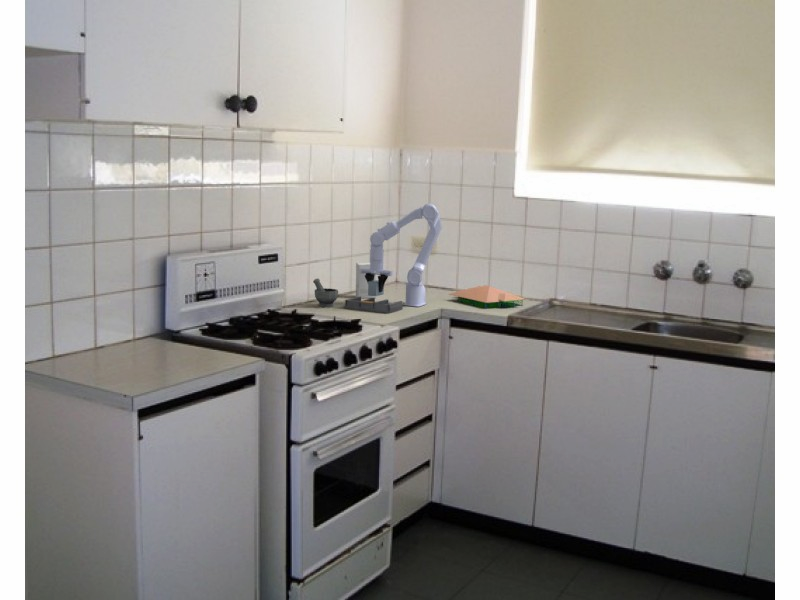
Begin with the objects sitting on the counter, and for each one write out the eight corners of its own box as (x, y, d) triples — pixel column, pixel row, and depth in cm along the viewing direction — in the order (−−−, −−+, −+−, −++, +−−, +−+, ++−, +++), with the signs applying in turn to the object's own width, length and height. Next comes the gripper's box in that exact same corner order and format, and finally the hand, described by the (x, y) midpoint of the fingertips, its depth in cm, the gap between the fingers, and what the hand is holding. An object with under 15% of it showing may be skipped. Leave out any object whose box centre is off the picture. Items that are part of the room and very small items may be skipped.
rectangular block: (375, 293, 368) (375, 279, 367) (383, 294, 366) (384, 280, 365) (367, 295, 362) (368, 281, 361) (376, 296, 360) (376, 282, 359)
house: (490, 311, 358) (491, 292, 357) (442, 299, 385) (443, 282, 383) (529, 307, 371) (530, 289, 370) (480, 296, 398) (481, 279, 396)
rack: (358, 304, 361) (358, 295, 361) (402, 309, 352) (402, 300, 352) (344, 308, 351) (344, 298, 350) (389, 313, 342) (389, 304, 341)
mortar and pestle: (329, 303, 361) (330, 275, 359) (342, 307, 353) (342, 278, 352) (307, 305, 354) (307, 277, 352) (319, 309, 347) (319, 280, 345)
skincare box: (372, 296, 386) (373, 262, 383) (376, 298, 379) (377, 264, 377) (354, 296, 383) (355, 262, 381) (358, 298, 377) (358, 264, 375)
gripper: (357, 259, 361) (356, 290, 363) (387, 262, 355) (386, 293, 357) (365, 258, 367) (364, 289, 370) (394, 260, 361) (394, 291, 363)
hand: (375, 291), depth 364 cm, fingers closed on rectangular block, 4 cm apart
